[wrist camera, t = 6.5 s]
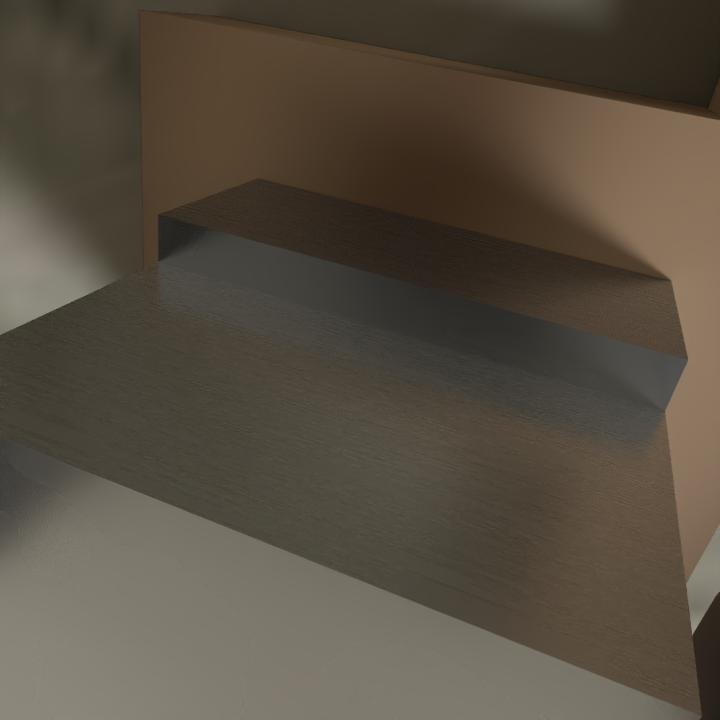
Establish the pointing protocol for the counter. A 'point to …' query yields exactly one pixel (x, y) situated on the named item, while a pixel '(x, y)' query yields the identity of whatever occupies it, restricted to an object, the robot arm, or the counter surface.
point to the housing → (344, 479)
